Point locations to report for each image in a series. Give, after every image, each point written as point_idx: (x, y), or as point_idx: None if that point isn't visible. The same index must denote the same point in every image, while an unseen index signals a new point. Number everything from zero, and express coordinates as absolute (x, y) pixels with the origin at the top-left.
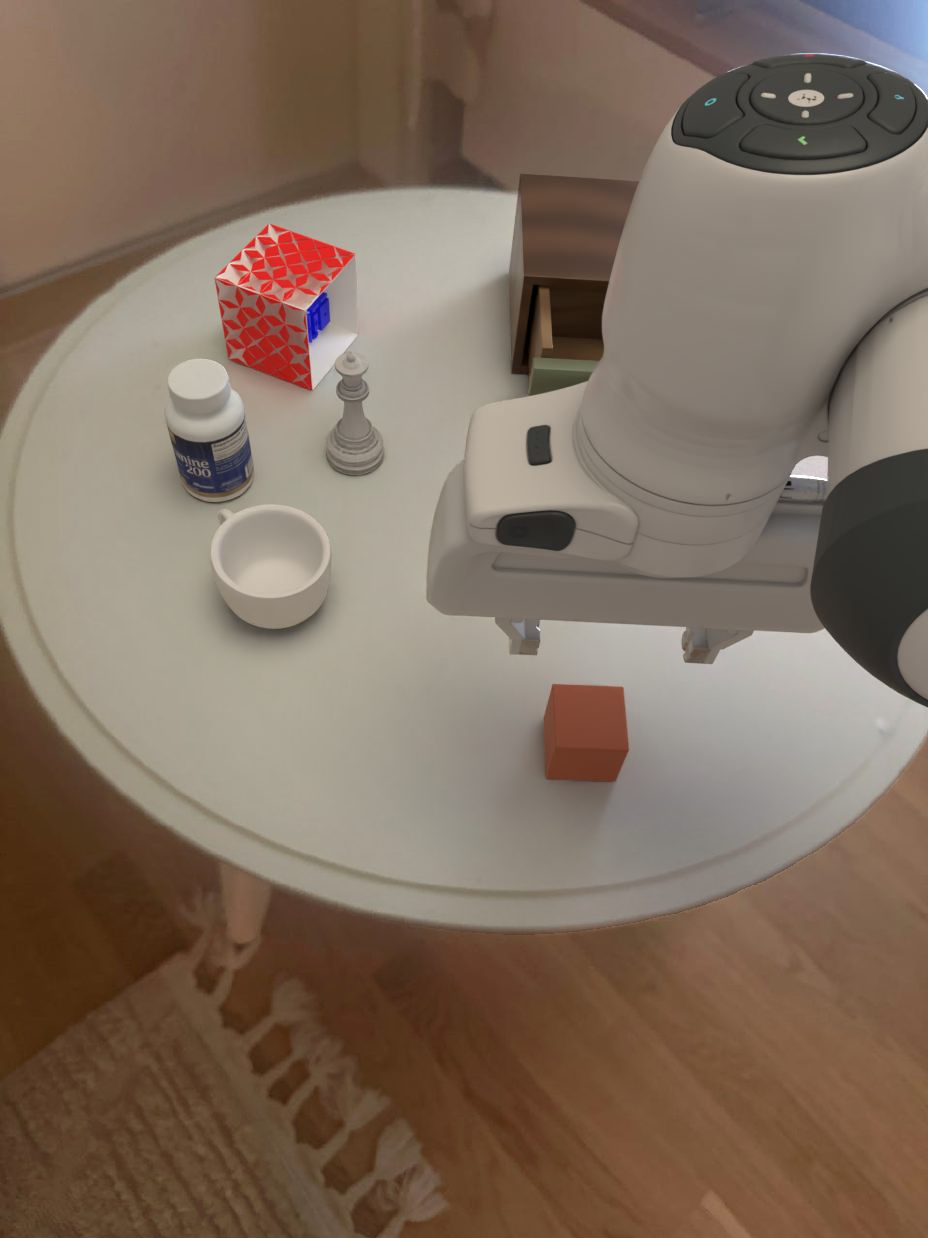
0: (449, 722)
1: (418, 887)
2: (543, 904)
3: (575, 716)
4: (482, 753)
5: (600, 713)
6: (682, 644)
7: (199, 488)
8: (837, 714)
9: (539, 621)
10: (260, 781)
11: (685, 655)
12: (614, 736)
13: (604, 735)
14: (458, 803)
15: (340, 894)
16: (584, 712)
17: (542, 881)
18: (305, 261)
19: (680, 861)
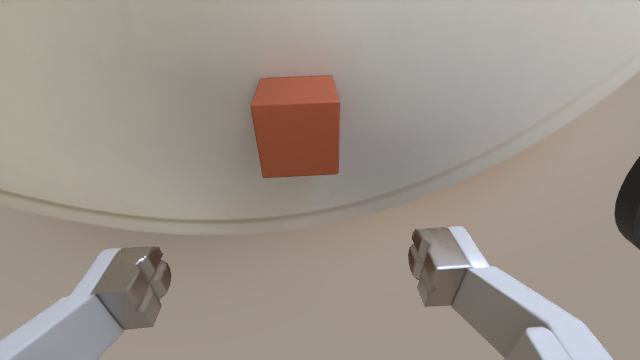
0: (162, 91)
1: (187, 222)
2: (276, 223)
3: (281, 144)
4: (206, 122)
5: (309, 138)
6: (414, 236)
7: None
8: (583, 45)
9: (136, 302)
10: (18, 163)
11: (412, 260)
12: (324, 162)
13: (313, 161)
14: (197, 167)
15: (135, 229)
16: (291, 138)
17: (274, 211)
18: None
19: (376, 192)
